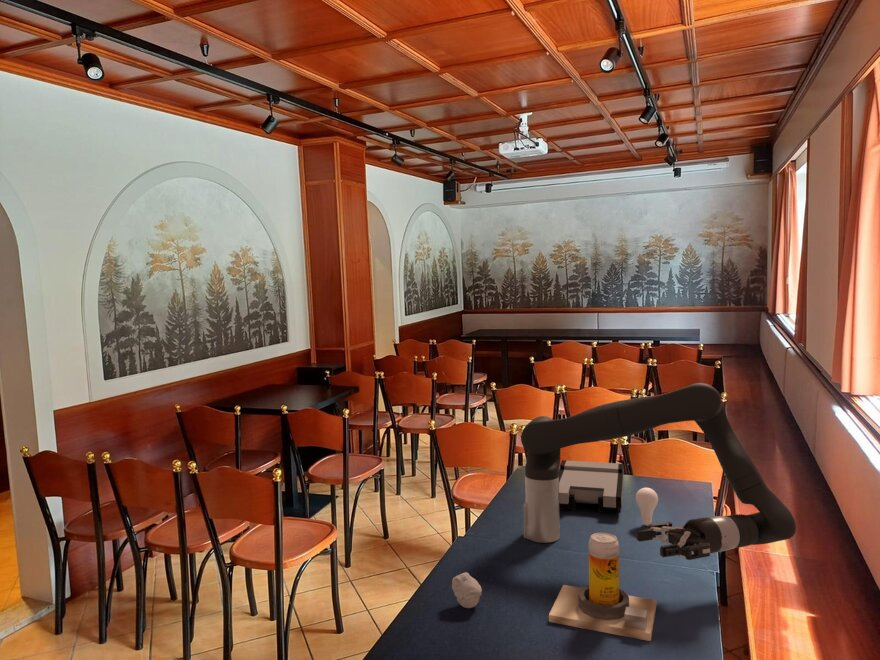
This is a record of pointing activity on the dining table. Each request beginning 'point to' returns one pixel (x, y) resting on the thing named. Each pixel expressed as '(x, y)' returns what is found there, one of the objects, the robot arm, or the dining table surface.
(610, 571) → the beer can
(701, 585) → the dining table surface
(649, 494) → the lightbulb
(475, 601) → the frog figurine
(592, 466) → the game console
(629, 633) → the board
